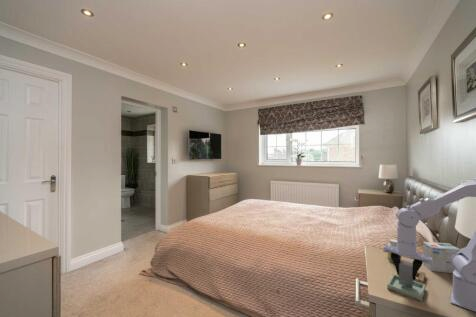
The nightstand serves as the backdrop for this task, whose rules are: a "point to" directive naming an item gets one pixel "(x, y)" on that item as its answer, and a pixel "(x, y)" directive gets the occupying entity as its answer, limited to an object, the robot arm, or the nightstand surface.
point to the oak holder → (420, 277)
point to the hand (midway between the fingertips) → (406, 276)
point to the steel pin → (406, 274)
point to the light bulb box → (440, 256)
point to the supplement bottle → (392, 244)
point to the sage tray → (407, 288)
